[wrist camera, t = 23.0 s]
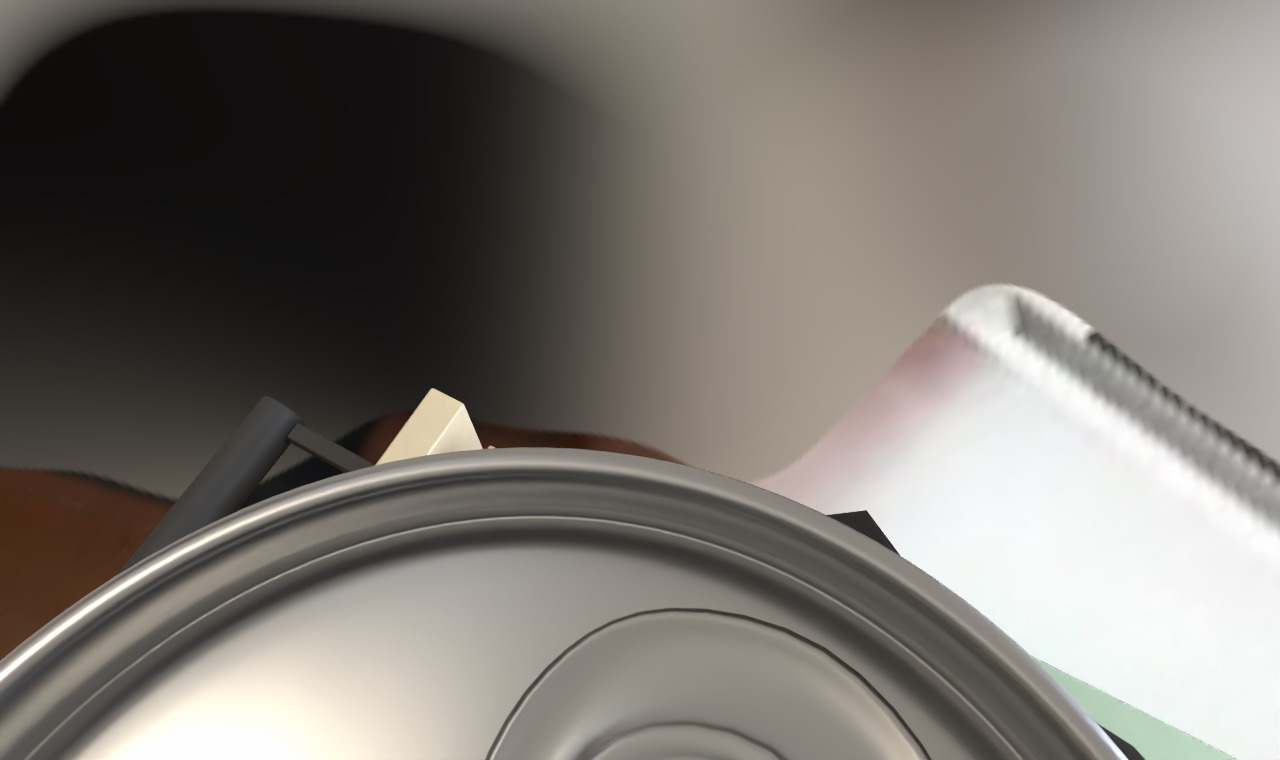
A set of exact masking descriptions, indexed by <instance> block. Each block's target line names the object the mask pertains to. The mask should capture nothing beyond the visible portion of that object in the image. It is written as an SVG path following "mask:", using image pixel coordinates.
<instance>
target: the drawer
mask: <svg viewBox="0 0 1280 760" xmlns="http://www.w3.org/2000/svg"><path fill="white" fill-rule="evenodd" d="M304 425H305V423H304V421H303V420H302V419H301V418H300V417H299V416H298V415H297V414H296V413H295V412H294V411H292V410H291V409H290V408H288V407H287V406H285V405H284V404H282V403H280V402H278V401H277V400H275V399H273V398H271V397H267V396H264V397H262V399H261V400H260V401H259V402H258V404H257V405H256V406H255V407H254V408H253V409H252V411H251V412H250V413H249V414H248V416H247V417H246V418H245V419H244V420H243V422H242V423H241V424H240V425H239V426H238V428H237V429H236V430H235V431H234V433H233V434H232V435H231V436H230V437H229V439H228V440H227V441H226V442H225V443H224V445H223V446H222V447H221V448H220V450H219V451H218V452H217V453H216V455H215V456H214V457H213V458H212V459H211V461H210V462H209V463H208V464H207V465H206V466H205V468H204V469H203V470H202V471H201V473H200V474H199V475H198V476H197V477H196V479H195V480H194V481H193V482H192V484H191V485H190V486H189V487H188V488H187V490H186V491H185V492H184V493H183V494H182V496H181V497H180V498H179V499H178V500H177V502H176V503H175V504H174V505H173V506H172V508H171V509H170V510H169V511H168V513H167V514H166V515H165V516H164V517H163V519H162V520H161V521H160V522H159V523H158V525H157V526H156V527H155V528H154V530H153V531H152V532H151V533H150V534H149V536H148V537H147V538H146V539H145V540H144V542H143V543H142V544H141V545H140V547H139V548H138V549H137V550H136V551H135V553H134V554H133V555H132V556H131V557H130V559H129V560H128V561H127V562H126V563H125V565H124V566H123V567H122V568H121V570H120V571H119V572H118V573H117V574H116V576H117V575H118V574H120V573H122V572H123V571H125V570H126V569H128V568H130V567H131V566H133V565H135V564H136V563H138V562H140V561H141V560H143V559H145V558H146V557H148V556H150V555H152V554H153V553H155V552H157V551H159V550H161V549H162V548H164V547H166V546H168V545H170V544H171V543H173V542H175V541H177V540H179V539H181V538H183V537H185V536H187V535H189V534H191V533H193V532H195V531H197V530H199V529H200V528H202V527H204V526H206V525H208V524H211V523H213V522H215V521H217V520H219V519H221V518H224V517H226V516H228V515H230V514H232V513H235V512H237V511H238V510H239V508H240V507H241V506H242V505H243V503H244V502H245V501H246V500H247V498H248V497H249V496H250V494H251V493H252V492H253V491H254V489H255V488H256V487H257V486H258V484H259V483H260V482H261V480H262V479H263V478H264V477H265V475H266V474H267V473H268V472H269V470H270V469H271V468H272V466H273V465H274V464H275V463H276V461H277V460H278V459H279V458H280V456H281V455H282V454H283V453H284V451H285V450H286V449H287V447H288V446H289V445H290V444H291V442H292V444H294V445H296V446H298V447H299V448H301V449H303V450H305V451H306V452H308V453H310V454H312V455H314V456H315V457H317V458H319V459H321V460H323V461H324V462H326V463H328V464H330V465H332V466H334V467H335V468H337V469H339V470H341V471H343V472H344V473H347V472H351V471H355V470H359V469H362V468H366V467H371V466H375V464H373V463H371V462H369V461H368V460H366V459H364V458H362V457H360V456H358V455H357V454H355V453H353V452H351V451H349V450H347V449H346V448H344V447H342V446H340V445H338V444H336V443H335V442H333V441H331V440H329V439H327V438H325V437H324V436H321V435H320V434H318V433H316V432H314V431H312V430H311V429H309V428H307V427H305V426H304ZM494 448H495V447H493V446H489V447H488V449H494ZM479 449H483V448H482V446H481V444H480V441H479V439H478V437H477V434H476V432H475V430H474V427H473V425H472V422H471V420H470V418H469V415H468V413H467V411H466V408H465V406H464V405H463V403H461V402H459V401H457V400H455V399H453V398H451V397H449V396H447V395H445V394H443V393H441V392H439V391H437V390H435V389H431V390H430V391H429V392H428V394H427V395H426V397H425V398H424V399H423V401H422V402H421V403H420V405H419V406H418V407H417V409H416V410H415V412H414V413H413V414H412V416H411V417H410V418H409V420H408V421H407V423H406V424H405V425H404V427H403V428H402V429H401V431H400V432H399V433H398V435H397V436H396V438H395V439H394V440H393V442H392V443H391V444H390V446H389V447H388V449H387V450H386V451H385V453H384V454H383V455H382V457H381V458H380V459H379V461H378V462H377V464H376V465H380V464H384V463H389V462H393V461H398V460H404V459H409V458H415V457H421V456H426V455H434V454H441V453H449V452H457V451H468V450H479Z"/></svg>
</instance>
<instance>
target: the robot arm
mask: <svg viewBox="0 0 1280 760" xmlns="http://www.w3.org/2000/svg"><path fill="white" fill-rule="evenodd" d="M826 516H828V517H830V518H832V519H834V520H836V521H839V522H841V523H843V524H845V525H847V526H849V527H850V528H852V529H854V530H856V531H858V532H860V533H861V534H863V535H865V536H867V537H869V538H871V539H872V540H874V541H876V542H878V543H879V544H881V545H883V546H884V547H886V548H888V549H889V550H891V551H893V552H894V553H896V554H898V555H899V553H898V552H897V551H896V549H895V548H894V547H893V545H892V544H891V543H890V541H889V540H888V539H887V537H886V536H885V535H884V533H883V532H882V531H881V529H880V528H879V527H878V525H877V524H876V523H875V521H874V520H873V519H872V517H871V516H870V515H869V513H868V512H867V511H858V512H849V513H841V514H833V515H826ZM899 556H900V555H899ZM1097 724H1098V723H1097ZM1098 725H1099V724H1098ZM1099 726H1100V727H1101V728H1102V729H1103V730H1104V731H1105V733H1106V734H1107V735H1108V736H1109V737H1110V739H1111V740H1112V741H1113V742H1114V743H1115V744H1116V746H1117V747H1118V748H1119V749H1120V750H1121V752H1122V753H1123V754H1124V755H1125V756H1126V757H1127V759H1128V760H1145V759H1144V758H1143V756H1142V755H1141V754H1140V753H1139V752H1138V751H1137V750H1136V749H1135V747H1134V746H1132V745H1131V744H1129V743H1127V742H1126V741H1124V740H1123V739H1121V738H1120V737H1118V736H1117V735H1115V734H1113V733H1112V732H1110V731H1109V730H1107V729H1106V728H1104V727H1102V726H1101V725H1099Z"/></svg>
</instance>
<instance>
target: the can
mask: <svg viewBox="0 0 1280 760" xmlns="http://www.w3.org/2000/svg"><path fill="white" fill-rule="evenodd" d="M0 760H1128V759H1127V757H1126V756H1125V755H1124V754H1123V753H1122V752H1121V750H1120V749H1119V748H1118V747H1117V746H1116V744H1115V743H1114V742H1113V741H1112V740H1111V739H1110V737H1109V736H1108V735H1107V734H1106V733H1105V731H1104V730H1103V729H1102V728H1101V727H1100V726H1099V725H1098V724H1097V723H1096V722H1095V721H1094V719H1093V718H1092V717H1091V716H1090V715H1089V714H1088V713H1087V712H1086V711H1085V710H1084V709H1083V707H1082V706H1081V705H1080V704H1079V703H1078V702H1077V701H1076V700H1075V699H1074V698H1073V697H1072V696H1071V695H1070V694H1069V693H1068V692H1067V691H1066V690H1065V689H1064V688H1063V687H1062V686H1061V685H1060V684H1059V683H1058V682H1057V681H1056V680H1055V679H1054V678H1053V677H1052V676H1051V675H1050V674H1049V673H1048V672H1047V671H1046V670H1045V669H1044V668H1043V667H1042V666H1041V665H1040V664H1039V663H1038V662H1037V661H1036V660H1034V659H1033V658H1032V657H1031V656H1030V655H1029V654H1028V653H1027V652H1026V651H1025V650H1024V649H1023V648H1022V647H1020V646H1019V645H1018V644H1017V643H1016V642H1015V641H1014V640H1012V639H1011V638H1010V637H1009V636H1008V635H1007V634H1005V633H1004V632H1003V631H1002V630H1001V629H1000V628H998V627H997V626H996V625H995V624H994V623H993V622H991V621H990V620H989V619H988V618H986V617H985V616H984V615H983V614H981V613H980V612H979V611H977V610H976V609H975V608H974V607H972V606H971V605H970V604H969V603H967V602H966V601H965V600H964V599H962V598H961V597H959V596H958V595H957V594H955V593H954V592H953V591H951V590H950V589H948V588H947V587H946V586H944V585H943V584H942V583H940V582H939V581H937V580H936V579H935V578H933V577H932V576H930V575H929V574H927V573H926V572H924V571H923V570H921V569H920V568H918V567H917V566H915V565H913V564H912V563H910V562H909V561H907V560H906V559H904V558H903V557H901V556H899V555H898V554H896V553H894V552H893V551H891V550H889V549H888V548H886V547H884V546H883V545H881V544H879V543H878V542H876V541H874V540H872V539H871V538H869V537H867V536H865V535H863V534H861V533H860V532H858V531H856V530H854V529H852V528H850V527H849V526H847V525H845V524H843V523H841V522H839V521H836V520H834V519H832V518H830V517H828V516H826V515H824V514H822V513H820V512H818V511H816V510H814V509H811V508H809V507H807V506H804V505H802V504H800V503H797V502H795V501H793V500H791V499H788V498H786V497H783V496H780V495H778V494H775V493H773V492H770V491H767V490H765V489H762V488H760V487H757V486H754V485H751V484H748V483H745V482H742V481H739V480H736V479H733V478H730V477H726V476H723V475H719V474H716V473H712V472H709V471H705V470H702V469H698V468H694V467H690V466H685V465H681V464H677V463H672V462H668V461H663V460H657V459H652V458H647V457H641V456H635V455H628V454H621V453H614V452H605V451H595V450H584V449H568V448H531V447H517V448H494V449H479V450H468V451H457V452H449V453H441V454H434V455H426V456H421V457H415V458H409V459H404V460H398V461H393V462H389V463H384V464H380V465H375V466H371V467H366V468H362V469H359V470H355V471H351V472H347V473H344V474H340V475H336V476H333V477H330V478H326V479H323V480H320V481H317V482H314V483H310V484H307V485H304V486H301V487H298V488H296V489H293V490H290V491H287V492H284V493H282V494H279V495H276V496H273V497H271V498H268V499H266V500H263V501H261V502H258V503H256V504H254V505H251V506H249V507H246V508H244V509H241V510H239V511H237V512H235V513H232V514H230V515H228V516H226V517H224V518H221V519H219V520H217V521H215V522H213V523H211V524H208V525H206V526H204V527H202V528H200V529H199V530H197V531H195V532H193V533H191V534H189V535H187V536H185V537H183V538H181V539H179V540H177V541H175V542H173V543H171V544H170V545H168V546H166V547H164V548H162V549H161V550H159V551H157V552H155V553H153V554H152V555H150V556H148V557H146V558H145V559H143V560H141V561H140V562H138V563H136V564H135V565H133V566H131V567H130V568H128V569H126V570H125V571H123V572H122V573H120V574H118V575H117V576H115V577H113V578H112V579H110V580H109V581H107V582H106V583H104V584H103V585H101V586H100V587H98V588H97V589H95V590H94V591H92V592H91V593H89V594H88V595H86V596H85V597H83V598H82V599H80V600H79V601H78V602H76V603H75V604H73V605H72V606H71V607H69V608H68V609H66V610H65V611H64V612H62V613H61V614H59V615H58V616H57V617H55V618H54V619H52V620H51V621H50V622H49V623H47V624H46V625H45V626H43V627H42V628H41V629H39V630H38V631H37V632H36V633H34V634H33V635H32V636H30V637H29V638H28V639H26V640H25V641H24V642H23V643H21V644H20V645H19V646H18V647H16V648H15V649H14V650H13V651H12V652H10V653H9V654H8V655H7V656H6V657H4V658H3V659H2V660H1V661H0Z"/></svg>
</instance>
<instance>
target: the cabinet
mask: <svg viewBox="0 0 1280 760" xmlns="http://www.w3.org/2000/svg"><path fill="white" fill-rule="evenodd" d="M1030 656H1031V655H1030ZM1031 657H1032V658H1033V659H1034V660H1036V661H1037V662H1038V663H1039V664H1040V665H1041V666H1042V667H1043V668H1044V669H1045V670H1046V671H1047V672H1048V673H1049V674H1050V675H1051V676H1052V677H1053V678H1054V679H1055V680H1056V681H1057V682H1058V683H1059V684H1060V685H1061V686H1062V687H1063V688H1064V689H1065V690H1066V691H1067V692H1068V693H1069V694H1070V695H1071V696H1072V697H1073V698H1074V699H1075V700H1076V701H1077V702H1078V703H1079V704H1080V705H1081V706H1082V707H1083V709H1084V710H1085V711H1086V712H1087V713H1088V714H1089V715H1090V716H1091V717H1092V718H1093V719H1094V721H1095V722H1096V723H1098V724H1099V725H1101V726H1102V727H1104V728H1106V729H1107V730H1109V731H1110V732H1112V733H1113V734H1115V735H1117V736H1118V737H1120V738H1121V739H1123V740H1124V741H1126V742H1127V743H1129V744H1131V745H1132V746H1134V747H1135V749H1136V750H1137V751H1138V752H1139V753H1140V754H1141V755H1142V756H1143V758H1144V759H1145V760H1238V759H1236V758H1234V757H1232V756H1230V755H1228V754H1226V753H1224V752H1222V751H1220V750H1218V749H1216V748H1214V747H1212V746H1210V745H1208V744H1206V743H1204V742H1202V741H1200V740H1198V739H1196V738H1194V737H1192V736H1190V735H1188V734H1186V733H1184V732H1182V731H1180V730H1178V729H1176V728H1174V727H1172V726H1170V725H1168V724H1166V723H1164V722H1162V721H1160V720H1158V719H1156V718H1154V717H1152V716H1150V715H1148V714H1146V713H1144V712H1142V711H1140V710H1138V709H1136V708H1134V707H1132V706H1130V705H1128V704H1126V703H1124V702H1122V701H1120V700H1118V699H1116V698H1114V697H1112V696H1110V695H1108V694H1106V693H1104V692H1102V691H1100V690H1098V689H1096V688H1094V687H1092V686H1090V685H1088V684H1086V683H1084V682H1082V681H1080V680H1078V679H1076V678H1074V677H1072V676H1070V675H1068V674H1066V673H1064V672H1062V671H1060V670H1058V669H1056V668H1054V667H1052V666H1050V665H1048V664H1046V663H1045V662H1043V661H1041V660H1039V659H1037V658H1035V657H1033V656H1031Z"/></svg>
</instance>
